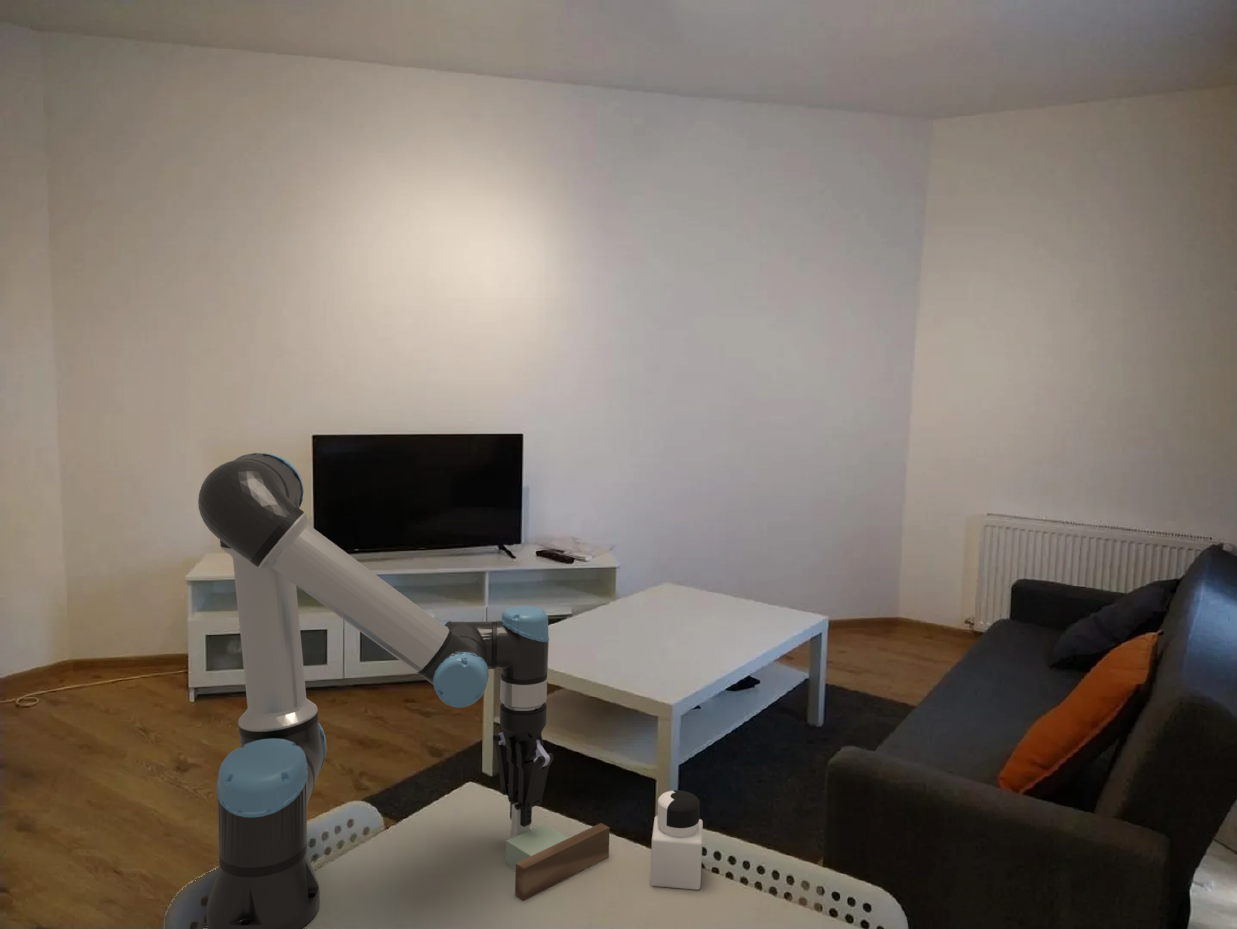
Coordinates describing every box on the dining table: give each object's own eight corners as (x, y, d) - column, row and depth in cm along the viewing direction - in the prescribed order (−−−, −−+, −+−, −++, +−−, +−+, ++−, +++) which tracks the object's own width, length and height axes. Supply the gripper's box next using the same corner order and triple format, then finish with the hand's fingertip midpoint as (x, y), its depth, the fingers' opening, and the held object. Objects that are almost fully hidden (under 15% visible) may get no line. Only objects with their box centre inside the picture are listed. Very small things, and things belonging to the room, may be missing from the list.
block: (505, 864, 144) (505, 840, 144) (543, 846, 150) (543, 823, 150) (538, 885, 139) (538, 860, 138) (576, 866, 145) (576, 842, 144)
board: (515, 895, 136) (515, 863, 135) (600, 852, 148) (601, 823, 148) (523, 900, 134) (524, 868, 134) (608, 856, 147) (609, 827, 147)
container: (700, 864, 146) (704, 787, 144) (700, 891, 138) (703, 810, 137) (652, 860, 147) (655, 783, 145) (649, 886, 139) (652, 806, 138)
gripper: (567, 708, 144) (563, 849, 147) (516, 686, 153) (513, 819, 156) (531, 720, 139) (527, 865, 141) (480, 697, 148) (477, 834, 150)
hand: (520, 841), depth 148 cm, fingers closed
